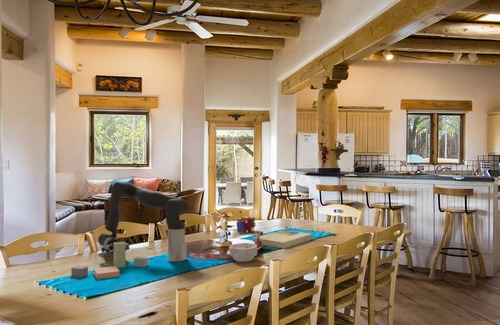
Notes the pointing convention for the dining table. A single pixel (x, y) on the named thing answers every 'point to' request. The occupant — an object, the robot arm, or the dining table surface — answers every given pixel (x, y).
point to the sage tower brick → (119, 254)
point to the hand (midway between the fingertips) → (117, 250)
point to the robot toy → (245, 224)
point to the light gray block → (140, 262)
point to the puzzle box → (284, 239)
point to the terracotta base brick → (106, 272)
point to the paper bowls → (243, 251)
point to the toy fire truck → (259, 239)
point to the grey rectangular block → (79, 271)
